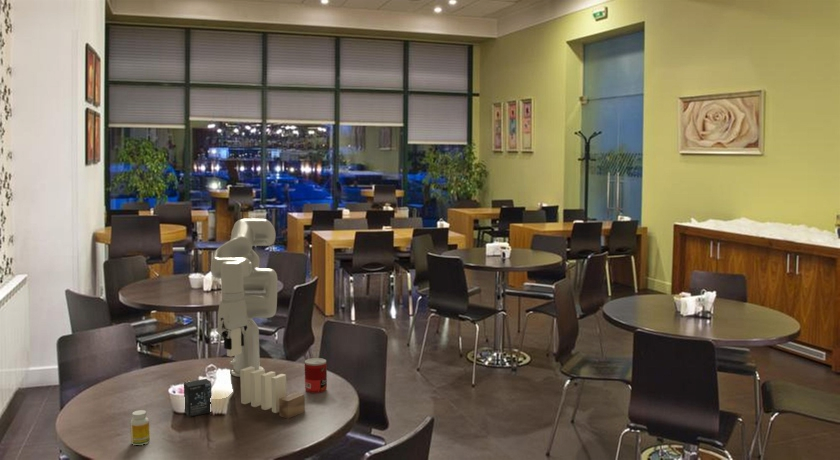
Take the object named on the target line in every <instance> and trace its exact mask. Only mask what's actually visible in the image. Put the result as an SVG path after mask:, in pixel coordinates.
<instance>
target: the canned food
mask: <svg viewBox="0 0 840 460" xmlns="http://www.w3.org/2000/svg"><path fill="white" fill-rule="evenodd" d="M327 367H328V365H327V359H324V358H321V357H313V358H312V357H311V358H307V359H305V360H304V388H305V391H306V392H308V393H311V394H319V393H320V394H321V393H323V392H326V390H327V387H328V384H327V383H328V379H327V378H328V375H327V374H328V373H327Z"/></svg>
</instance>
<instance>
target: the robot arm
mask: <svg viewBox="0 0 840 460" xmlns="http://www.w3.org/2000/svg"><path fill="white" fill-rule="evenodd" d="M229 239H230V240H228V241H226V242H224V243H223V244H222V245H220V246H219V247H217V248H216V249H215V251H214V253H213V255H212V260H211V262H210V263H211V264H210V273H211V275H212V277H214V279H220V280H221V281H220V286H221V301H219V305H218V310H217V312H218V314H217V328H216V330H215V331H216V332H217V333H218V334H219V335H220V336H221V338H222V339H223V348H224V349H225V350H227V349H229V350H231V349H232V339H231V338H230V335H231V330H233V329H236V328H240V327H241V346H242V353H241V354H238V355H235V356H234V358H233V359H232V360H231V361H229V365H230V366H232V367H233V368H232V369H231V371H230V374H231V376H233V377H237V378H240V370H241V369H244V368H247V367H250V366H252V367H255V371H256V370H259V369H264V367H262V366H260V365H261V363H260V362H261V361H260V331H259V326H258V324H257V323H256V322H255V320H254V319H267V318H268V319H269V318H273V317H275V315H276V313H277V308H278V307H277V305H278V286H279V285H278V284H279V283H278V274H277V272H276V271H275V269H273V268H269V267H268V268H266V267H265V268H263V267H262V268H260V257H259V255H258V254H257V252H256V251H254V249H253V247H255V246H259V247H260V246H261V247H262V246H263V247H264V246H272V245H273V244H274V243H275V241H276V229H275V227H274V225H273V224H272V222H271V221H270V220H268V219H266V218H241V219H238V220H237V221H235V223H234V225H233V227H232V229H231V236H230V238H229ZM226 332H227V333H226ZM264 370H265V369H264Z"/></svg>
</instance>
